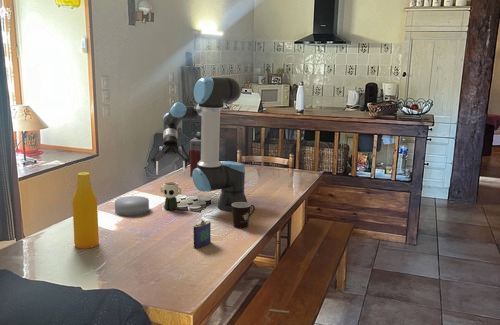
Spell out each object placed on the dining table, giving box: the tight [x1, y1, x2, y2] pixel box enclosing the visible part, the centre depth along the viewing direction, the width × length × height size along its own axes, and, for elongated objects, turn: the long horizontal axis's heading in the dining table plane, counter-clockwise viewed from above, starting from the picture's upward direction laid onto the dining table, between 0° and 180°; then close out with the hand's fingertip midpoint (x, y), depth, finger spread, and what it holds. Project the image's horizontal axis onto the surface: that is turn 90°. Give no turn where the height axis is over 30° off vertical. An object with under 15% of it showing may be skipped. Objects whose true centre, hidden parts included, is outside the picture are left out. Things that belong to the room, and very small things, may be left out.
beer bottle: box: [71, 171, 100, 250], centre depth 189 cm, size 9×9×29 cm
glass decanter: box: [188, 131, 201, 178], centre depth 306 cm, size 9×11×28 cm
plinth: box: [114, 195, 150, 217], centre depth 235 cm, size 16×16×5 cm
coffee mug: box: [231, 201, 256, 229], centre depth 217 cm, size 12×9×10 cm
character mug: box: [160, 181, 182, 211], centre depth 238 cm, size 11×7×13 cm, turn 75°
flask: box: [192, 219, 212, 249], centre depth 194 cm, size 9×3×11 cm, turn 144°
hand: (170, 173), depth 247 cm, fingers open, 13 cm apart
